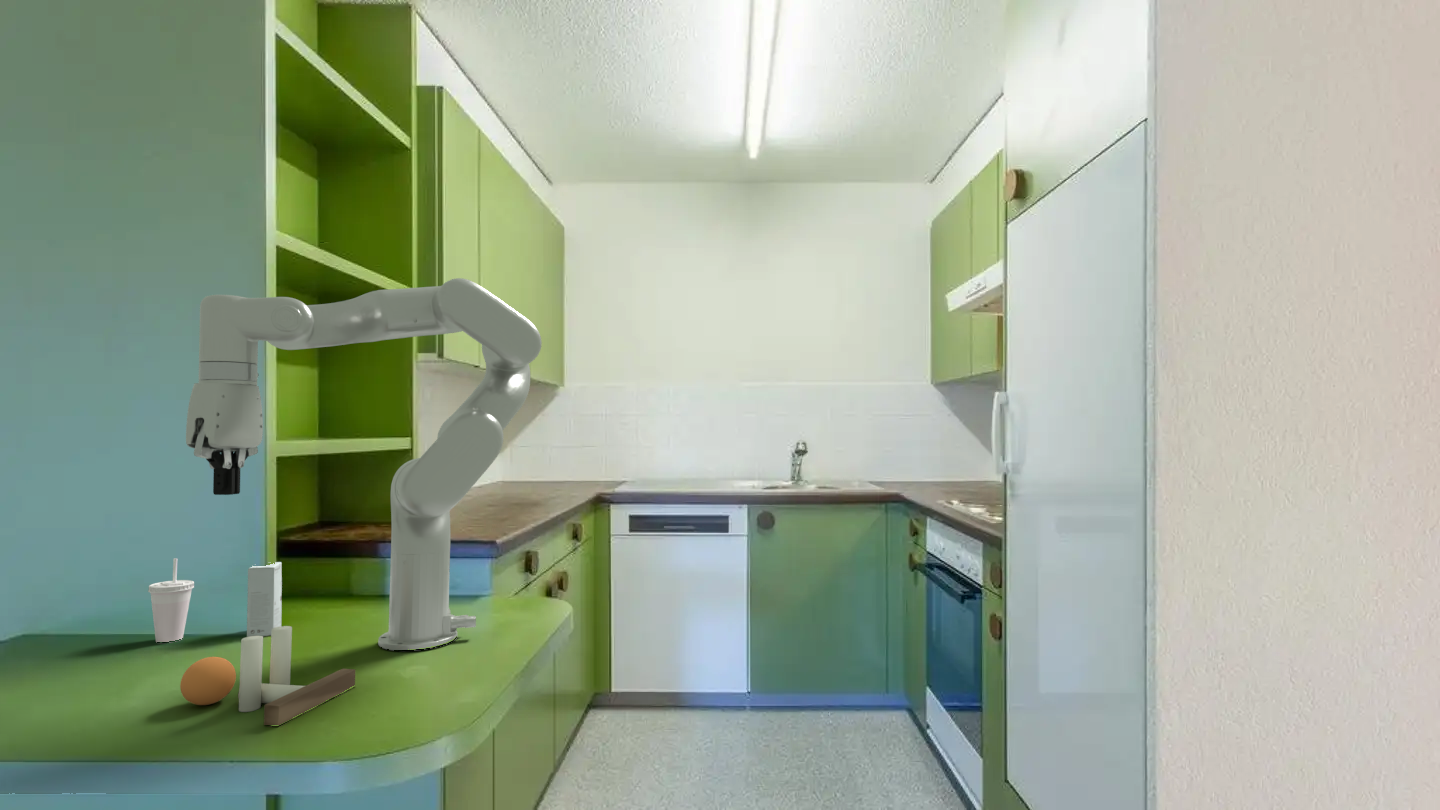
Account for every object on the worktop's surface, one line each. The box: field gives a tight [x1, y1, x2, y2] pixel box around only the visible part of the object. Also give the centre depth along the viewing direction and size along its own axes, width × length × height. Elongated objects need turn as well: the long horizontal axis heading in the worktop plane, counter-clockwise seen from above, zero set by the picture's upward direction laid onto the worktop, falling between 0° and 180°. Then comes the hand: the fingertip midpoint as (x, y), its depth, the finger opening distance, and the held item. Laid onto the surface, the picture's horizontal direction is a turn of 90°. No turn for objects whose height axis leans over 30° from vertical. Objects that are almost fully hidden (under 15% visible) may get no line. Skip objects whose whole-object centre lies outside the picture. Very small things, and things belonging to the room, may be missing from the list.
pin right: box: [269, 625, 293, 685], centre depth 98 cm, size 2×2×9 cm
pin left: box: [238, 636, 264, 713], centre depth 93 cm, size 2×2×9 cm
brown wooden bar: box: [263, 668, 356, 726], centre depth 94 cm, size 2×14×2 cm, turn 170°
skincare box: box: [246, 561, 283, 637], centre depth 129 cm, size 6×4×12 cm
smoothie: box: [147, 557, 195, 643], centre depth 124 cm, size 6×6×14 cm
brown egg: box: [179, 656, 237, 706], centre depth 94 cm, size 6×6×6 cm
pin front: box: [237, 682, 305, 704], centre depth 95 cm, size 2×2×9 cm
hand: (226, 494), depth 110 cm, fingers closed
